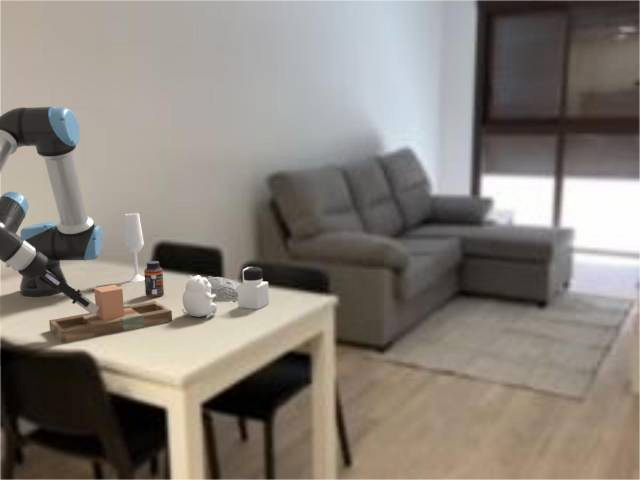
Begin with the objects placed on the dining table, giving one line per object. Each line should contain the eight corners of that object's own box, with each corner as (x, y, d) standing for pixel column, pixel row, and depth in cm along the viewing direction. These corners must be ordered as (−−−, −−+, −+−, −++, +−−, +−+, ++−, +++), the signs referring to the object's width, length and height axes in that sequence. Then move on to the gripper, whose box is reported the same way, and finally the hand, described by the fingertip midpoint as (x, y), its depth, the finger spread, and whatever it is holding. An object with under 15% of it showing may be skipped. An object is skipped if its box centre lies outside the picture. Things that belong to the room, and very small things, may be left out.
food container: (223, 305, 215) (223, 283, 214) (179, 294, 233) (179, 275, 232) (262, 300, 225) (262, 279, 225) (217, 290, 244) (217, 271, 243)
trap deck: (50, 330, 194) (49, 319, 193) (155, 310, 211) (154, 300, 211) (62, 342, 183) (61, 331, 183) (172, 320, 201) (171, 310, 200)
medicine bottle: (269, 303, 216) (268, 266, 214) (257, 309, 210) (256, 271, 208) (249, 301, 219) (248, 264, 217) (237, 307, 213) (236, 269, 211)
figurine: (187, 322, 199) (185, 282, 197) (178, 313, 208) (175, 275, 205) (220, 317, 204) (218, 277, 201) (209, 309, 212) (207, 271, 210)
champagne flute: (143, 281, 247) (139, 215, 243) (125, 281, 247) (120, 215, 243) (148, 277, 254) (144, 212, 249) (130, 277, 254) (125, 212, 249)
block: (96, 315, 198) (94, 288, 196) (116, 311, 201) (114, 284, 199) (103, 320, 193) (101, 292, 191) (124, 316, 196) (122, 288, 195)
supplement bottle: (159, 298, 225) (157, 264, 223) (142, 297, 226) (140, 263, 224) (167, 293, 231) (165, 260, 229) (150, 292, 232) (148, 259, 230)
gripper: (12, 267, 185) (80, 316, 198) (22, 276, 175) (93, 327, 187) (31, 245, 187) (97, 295, 200) (42, 253, 177) (111, 305, 189)
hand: (95, 310), depth 193 cm, fingers closed
